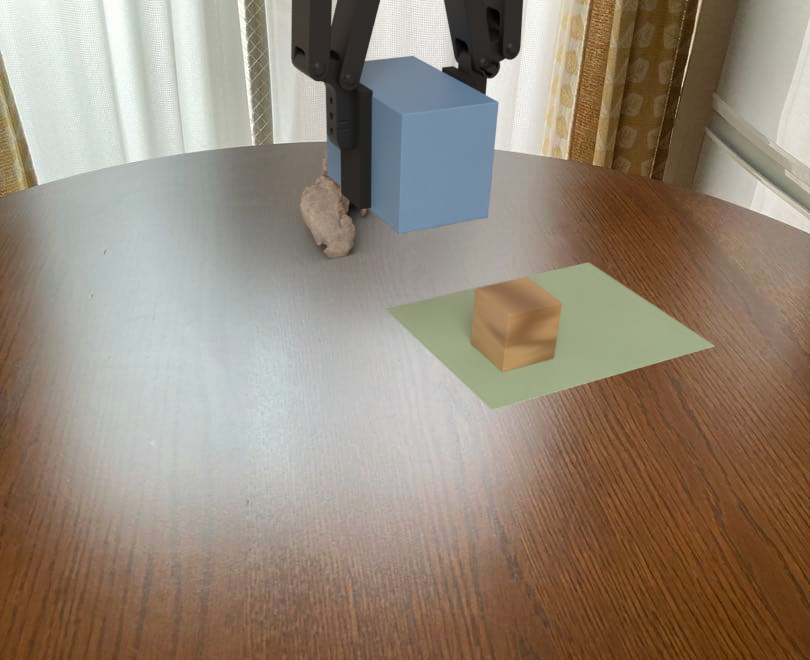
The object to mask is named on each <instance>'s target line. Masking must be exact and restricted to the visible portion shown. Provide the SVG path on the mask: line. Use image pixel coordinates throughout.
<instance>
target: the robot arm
mask: <svg viewBox="0 0 810 660" xmlns="http://www.w3.org/2000/svg"><path fill="white" fill-rule="evenodd" d="M380 3H381V0H336V4H335V8H334V12H333V11H332V10H333V0H291V24H290V25H291V30H290V31H291V32H290V34H291V37H290V38H291V39H290V59H291V64H292V65H293V67H294V68H295V69H297V70H298V71H299V72H301V73H302V74H304V75H306V76H307V77H308V78H310V79H311V80H313V81H315V82H321V83H324V86H325V119H326V118H327V128H326V136H327V135H328V138H329V140H330V142H331V143H332V144H334V145H335V146H336V147H337V148H339V149H340V150H341V194H342V195H343V196H344V197H346V198H347V199H348V200H349V201H350V202H352V203H351V204H353V205H354V206H355V207H356V208H357V209H358V210H359V211H360V210H361V209H367V210H368V208H371V165H372V95H373V91H372V90H371V89H369V88H368V87H366V86H364V85H363V84H361V83H360V78H361V74H362V70H363V66H364V62H365V61H366V59H367V54H368V51H369V46H370V43H371V39H372V35H373V31H374V27H375V23H376V19H377V15H378V11H379V7H380ZM443 4H444V9H445V14H446V20H447V25H448V30H449V36H450V41H451V46H452V51H453V56H454V60H455V62H456V63H457V67H456V66H453V65H451V66H442V67H441V71H442V72H444V73H446V74H447V75H449V76H451V77H453V78H455V79H457V80H459V81H460V82H462V83H464V84H466V85H468V86H470V87H472V88H473V89H475V90H477V91H479V92H481V93H483V94H485V95H486V96H487V85H488V79H489V80H491V79H494V78H495V77H496V76H497V75H498V74H499V72H500V69H501V62H502V61H504V60H508V61H512V60H514V59H516V58H517V57H518V55H519V53H520V51H521V44H522V28H523V13H524V12H523V11H524V0H443ZM332 13H333V15H332ZM326 114H327V116H326Z"/></svg>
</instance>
